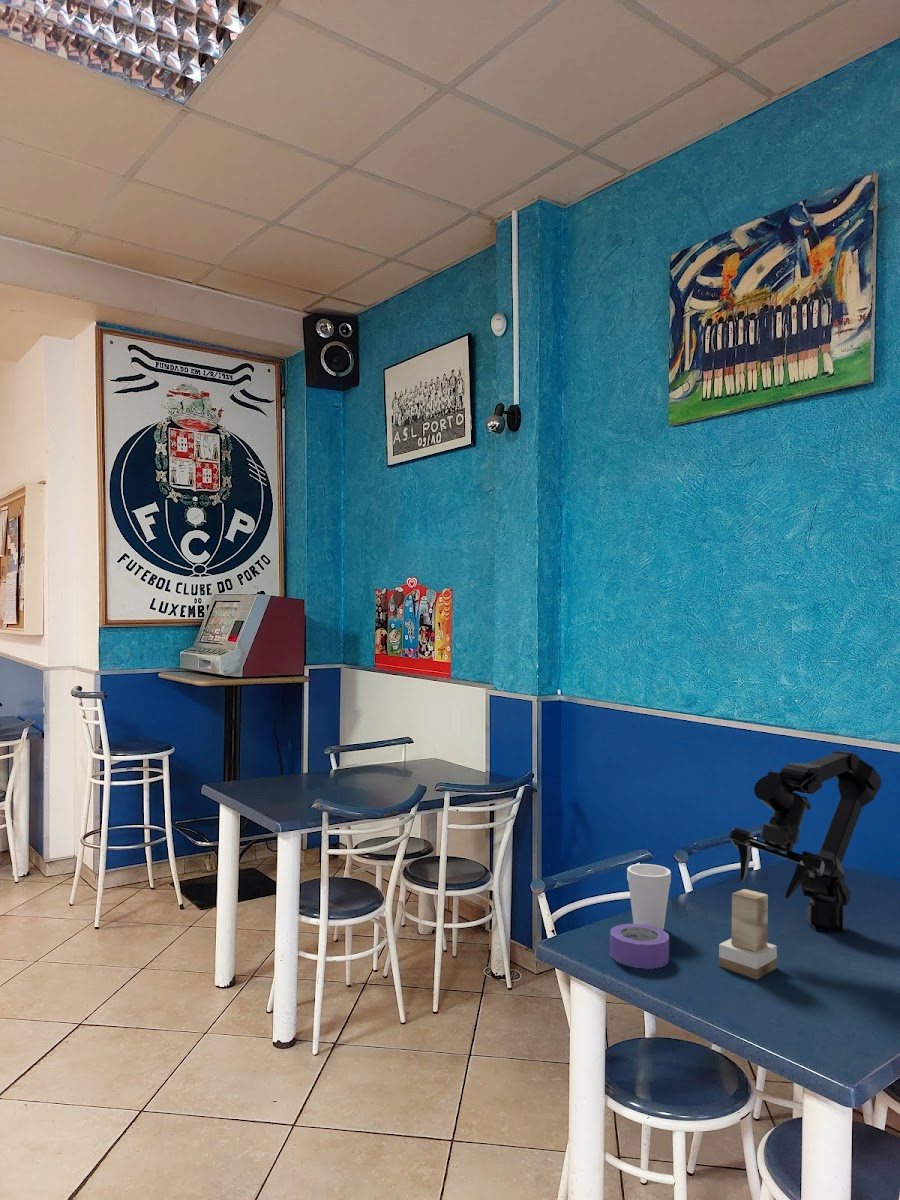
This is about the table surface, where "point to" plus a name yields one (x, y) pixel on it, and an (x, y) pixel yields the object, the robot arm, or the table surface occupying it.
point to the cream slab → (748, 954)
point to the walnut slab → (748, 968)
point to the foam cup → (649, 893)
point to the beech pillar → (749, 919)
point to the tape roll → (639, 945)
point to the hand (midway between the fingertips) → (763, 889)
